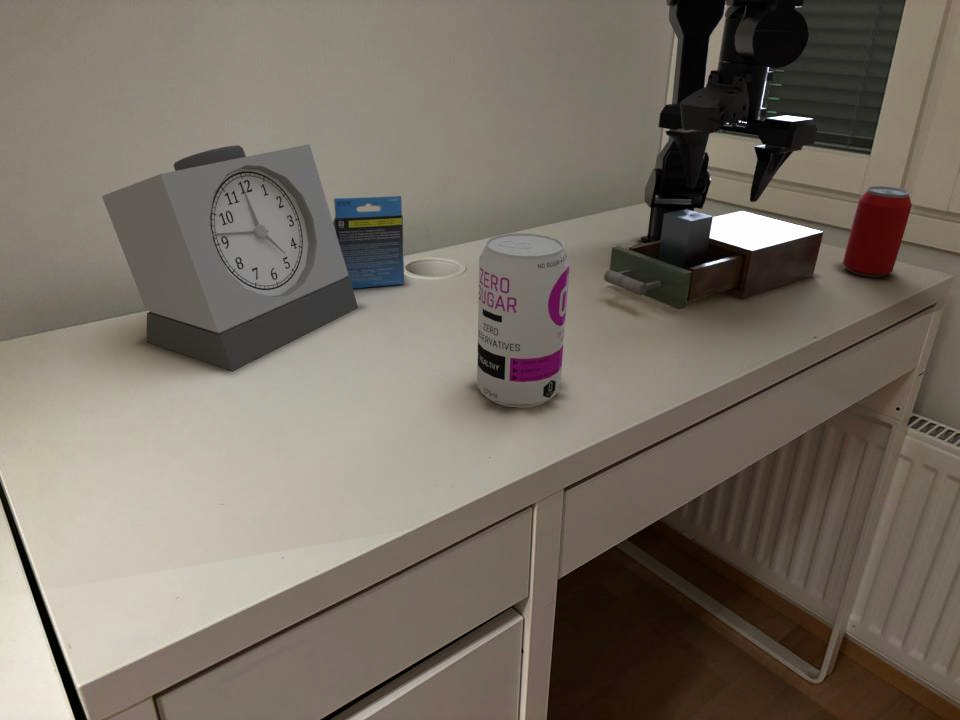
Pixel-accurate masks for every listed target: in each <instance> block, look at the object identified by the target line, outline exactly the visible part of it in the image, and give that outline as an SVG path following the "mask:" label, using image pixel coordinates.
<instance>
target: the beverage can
mask: <svg viewBox="0 0 960 720" xmlns="http://www.w3.org/2000/svg"><path fill="white" fill-rule="evenodd" d="M910 194H911V193H910V191H908V190H905V189H903V188H898V187H892V186H883V185H882V186H881V185H880V186H879V185H876V186H869V187H867V189H866V191H865V192H864V193H863V194H862V195H861V196H860V197H859V198H858V202H857V206H856V208H855V213H854V216H853V220H852V224H851V228H850V231H849V236H848V240H847V244H846V247H845V251H844V256H843V260H842V265H843V266H844V267H845V268H847V270H848V271H850V272H851V273H854V274H855V275H858V276H859V275H860V276H864V277H872V278H878V277H883V276H885V275H887V274H891V273H892V272H893V271H894V268H895V265H896V261H897V258H898V255H899V251H900V248H901V245H902V241H903V238H904V235H905V231H906V229H907V224H908V220H909V217H910V214H911V210H912V207H913V205H912V201H911V197H910Z"/></svg>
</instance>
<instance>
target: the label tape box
mask: <svg viewBox="0 0 960 720" xmlns="http://www.w3.org/2000/svg"><path fill="white" fill-rule="evenodd" d="M333 204H334V219H333V220H332V221H333V225H334V228H335V231H336V235H337V238H338V241H339V245H340V248H341V251H342V255H343V258H344V261H345V265H346V268H347V272H348V275H349V276H347V277H348V278H350V281H351V285H352V288H353V290H356V289H365V288H371V287H385V286H396V285H397V286H398V285H399V286H400V285H405V259H404V257H405V255H404V254H405V253H404V252H405V251H404V216H403V211H402V208H403V205H402V195H394V196H392V195H391V196H390V195H389V196H365V197H364V196H361V197H334V198H333ZM367 205H370V207H377V208H379V209H378V210H368V211H367V210H365V211H364V210H363V211H359V210H358V208H361V207H362V208H364V207H366V206H367Z"/></svg>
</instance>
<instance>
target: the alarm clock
mask: <svg viewBox="0 0 960 720" xmlns="http://www.w3.org/2000/svg"><path fill="white" fill-rule="evenodd" d="M173 168H174V171H168V172H164V173H159V174H156V175H154V176H151V177H148V178H146V179H143V180H141V181H138V182H135V183H133V184H130V185H127V186H125V187H121V188H119V189H117V190H114V191H112V192H109V193H106V194H104V195H102V196H101V198H102V201H103V203H104V205H105V209H106V211H107V213H108V217H109V218H110V222H111V224H112V227H113V229H114V232H115V233H116V237H117V239H118V242H119V244H120V247H121V250H122V252H123V255H124V257H125V259H126V262H127V265H128V268H129V270H130V273H131V275H132V278H133V281H134V283H135V285H136V288H137V290H138V293H139V295H140V298H141V301H142V303H143V307H144V308H145V311H147V312H146V337H145V338H146V339H145V341H146V343H149V344H151V345H155V346H158V347H159V348H163V349H166V350H169V351H172V352H176V353H178V354H180V355H184V356H187V357H190V358H193V359H195V360H198V361H201V362H204V363H207V364H211V365H214V366H215V367H216V366H217V367H219V368H222V369H225V370H228V371H231V372H233V371H235V370H237V369H239V368H241V367H243V366H245V365H247V364H249V363H252V362H254V361H255V360H257V359H259V358H261V357H263V356H265V355H267V354H269V353H271V352H274V351H275V350H277V349H279V348H281V347H284V346H285V345H287V344H289V343H291V342H293V341H295V340H297V339H299V338H301V337H303V336H305V335H307V334H309V333H311V332H313V331H315V330H317V329H319V328H321V327H323V326H325V325H327V324H329V323H331V322H333V321H334V320H337V319H339V318H340V317H343V316H345V315H347V314H348V313H351V312H352V311H354V310H356V309H358V308H359V306H358V302H357V299H356V296H355V293H354V289H353V288H352V285H351V281H350V278H348V277H347V276H349V275H348V272H347V268H346V265H345V261H344V258H343V255H342V251H341V248H340V245H339V241H338V238H337V235H336V231H335V228H334V225H333V221H334V220H333V217H332V215H331V212H330V208H329V205H328V201H327V197H326V195H325V191H324V188H323V184H322V181H321V178H320V174H319V171H318V168H317V164H316V161H315V158H314V155H313V151H312V148H311V145H310V143H309V144H303V145H298V146H294V147H293V146H292V147H288V148H283V149H277V150H273V151H268V152H262V153H258V154H253V155H246V152H245V150H244V148H243V147H242V146H240V145H239V144H237V145H228V146H222V147H217V148H213V149H209V150H205V151H202V152H197V153H195V154H192V155H188V156H185V157H182V158H181V159H179V160H177V161H175V162H174V163H173Z"/></svg>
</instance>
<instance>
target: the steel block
mask: <svg viewBox="0 0 960 720" xmlns="http://www.w3.org/2000/svg"><path fill="white" fill-rule="evenodd" d="M713 217H714V216H713V215H709V214H705V213H702V212H698V211H695V210H694V211H691V210H688V209H684V210H679V211H674V212H669V213H665V214H664V218H663V225H662V233H661V240H660V247H659V255H658V260H660V261H663V262H665V263H668V264H671V265H674V266H677V267H680V268H683V269H685V270H689V268H691V267H694V266H698V265H702V264H705V261H706V255H707V249H708V243H709V237H710V231H711V225H712V219H713Z"/></svg>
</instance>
